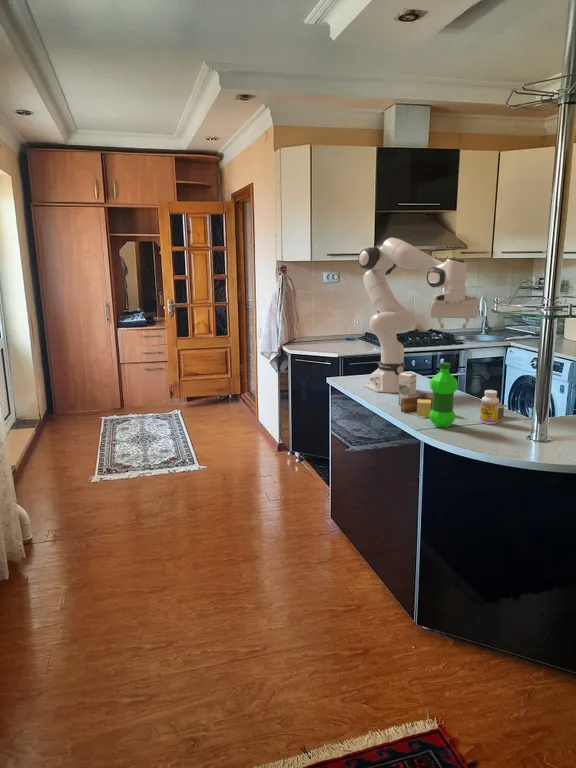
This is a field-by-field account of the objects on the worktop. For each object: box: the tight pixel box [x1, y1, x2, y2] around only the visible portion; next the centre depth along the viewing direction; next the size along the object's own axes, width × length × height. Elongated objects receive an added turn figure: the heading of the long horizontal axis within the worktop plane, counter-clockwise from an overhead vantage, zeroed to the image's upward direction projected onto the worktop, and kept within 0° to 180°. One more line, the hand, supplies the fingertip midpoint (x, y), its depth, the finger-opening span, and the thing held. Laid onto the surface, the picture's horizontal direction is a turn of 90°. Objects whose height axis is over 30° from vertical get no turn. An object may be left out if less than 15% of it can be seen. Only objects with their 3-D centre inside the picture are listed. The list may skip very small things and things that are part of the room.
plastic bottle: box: [428, 361, 459, 428], centre depth 218 cm, size 10×10×25 cm
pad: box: [409, 411, 430, 419], centre depth 236 cm, size 8×8×1 cm
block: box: [416, 399, 431, 416], centre depth 235 cm, size 6×6×6 cm
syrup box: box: [398, 371, 417, 406], centre depth 250 cm, size 6×6×14 cm
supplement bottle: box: [479, 389, 500, 425], centre depth 223 cm, size 7×7×13 cm
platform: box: [498, 401, 508, 418], centre depth 231 cm, size 12×18×7 cm, turn 111°
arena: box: [400, 393, 433, 414], centre depth 237 cm, size 16×14×6 cm
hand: (452, 328), depth 245 cm, fingers open, 8 cm apart
